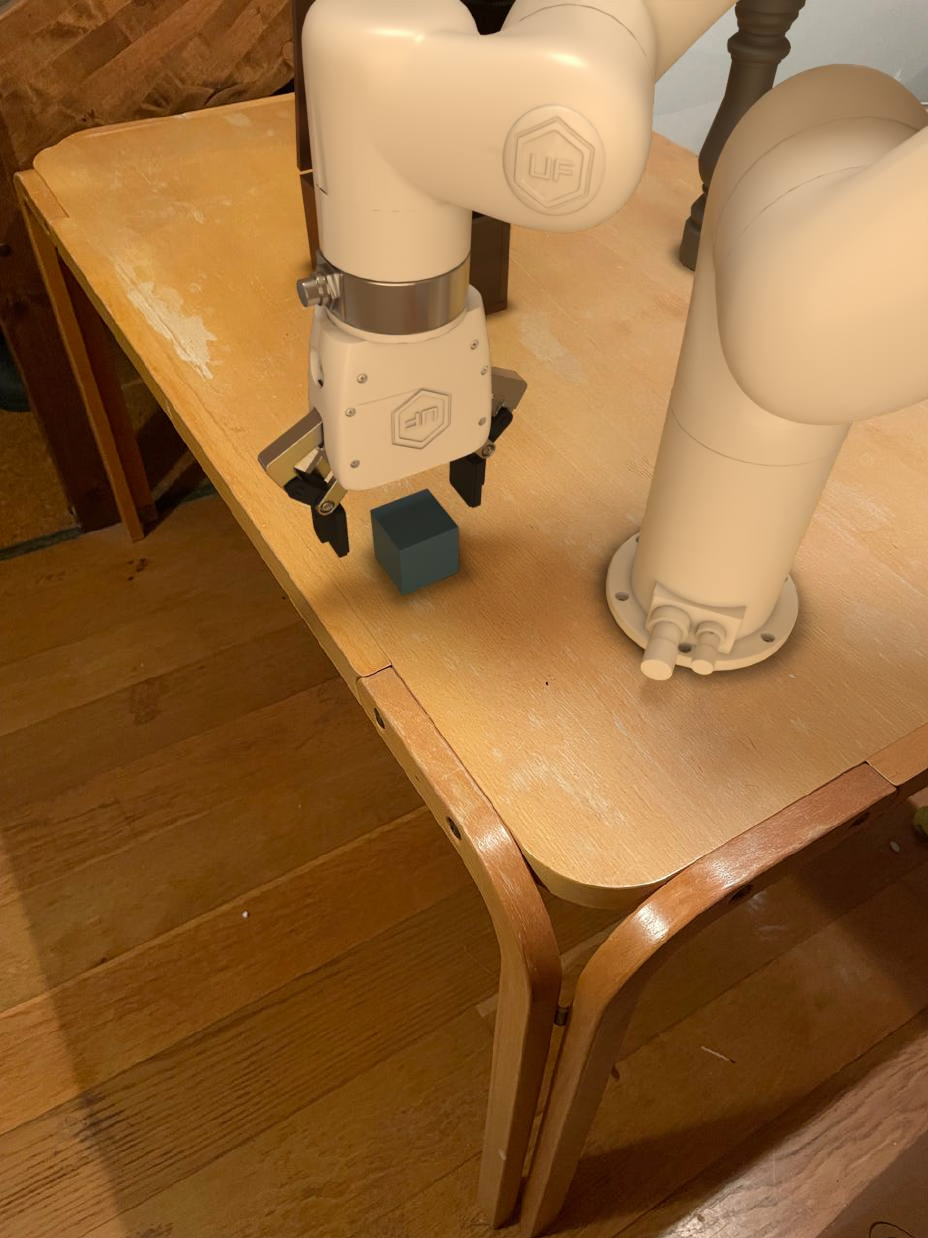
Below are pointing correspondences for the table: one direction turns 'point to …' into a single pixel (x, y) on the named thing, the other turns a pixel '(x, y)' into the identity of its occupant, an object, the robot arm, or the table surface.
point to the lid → (300, 86)
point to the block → (415, 541)
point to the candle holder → (741, 92)
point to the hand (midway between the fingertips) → (401, 518)
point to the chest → (484, 252)
